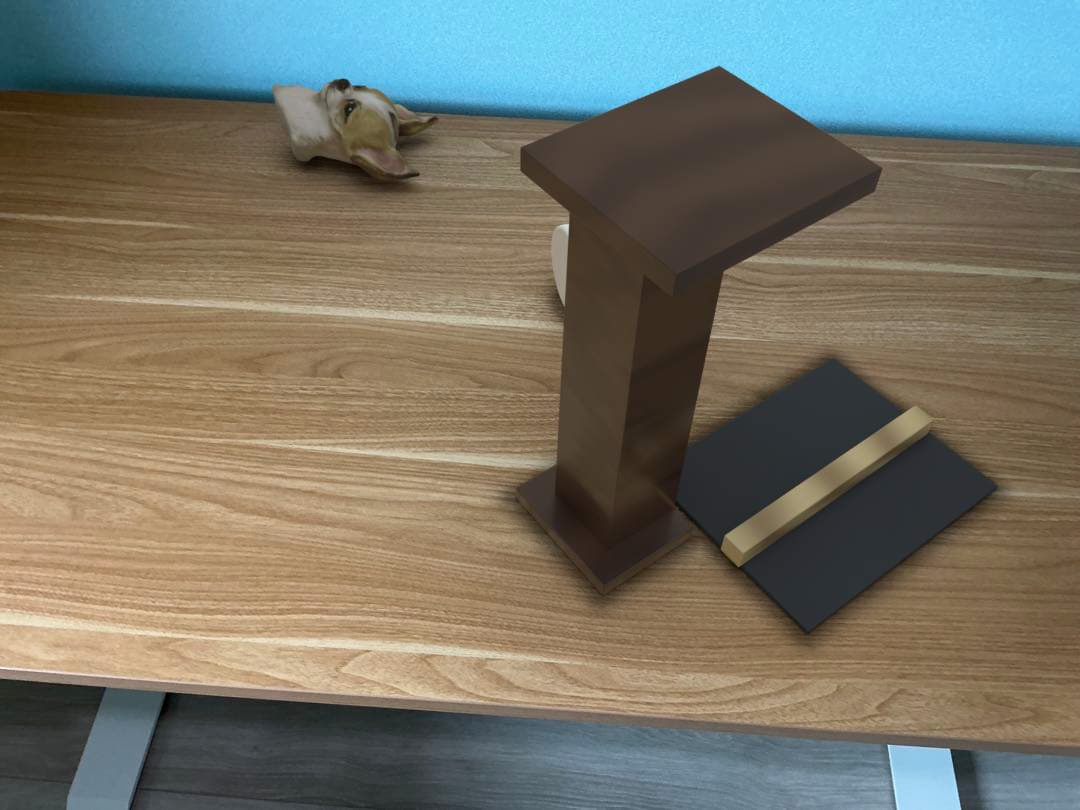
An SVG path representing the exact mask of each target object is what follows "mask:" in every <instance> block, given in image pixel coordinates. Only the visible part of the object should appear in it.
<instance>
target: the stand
mask: <svg viewBox="0 0 1080 810" xmlns="http://www.w3.org/2000/svg"><path fill="white" fill-rule="evenodd" d="M519 151H520V153H519V154H520V155H519V156H520V159H519V160H520V161H519V162H520V163H519V166H520V167H519V171H520V172H521V173H522V175H524V176H525V177H527V178H528V179H529V180H530V181H532V182H533V183H534V185H536V186H538V187H539V188H540V189H541V190H542V191H543V192H545V193H546V194H547V195H548V196H549V197H550V198H551V199H553V200H554V201H555V202H557V203H558V204H559V205H560V206H561V207H563V208H564V209H565V210H566V211H567V212H568V213H569V215H568V217H569V218H568V224H569V233H568V252H567V271H566V290H565V307H564V308H563V309H564V312H563V329H562V330H563V331H562V346H561V347H562V348H561V349H562V350H561V367H560V387H559V405H558V423H557V424H558V426H557V443H556V445H557V446H556V463H555V464H554V465H552V466H551V467H549V468H547V469H545V470H544V471H542V472H540V473H539V474H537V475H535V476H534V477H532V478H530V479H528V480H527V481H525V482H523V483H521V484H520V485H518V486H516V487H515V491H514V492H515V495H514V496H515V499H516V500H517V501H518V502H519V503H520V504H521V506H522V507H523V508H524V509H525V510H526V511H527V512H528V514H529V515H530V516H531V517H532V518H533V519H534V521H536V523H537V524H538V525H539V526H540V527H541V529H543V531H545V533H546V534H547V535H548V536H549V537H550V539H551V540H553V542H554V543H555V544H556V545H557V546H558V547H559V549H560V550H561V551H562V552H563V553H564V554H565V555H566V557H567V558H568V559H569V561H571V562H572V564H574V565H575V567H576V568H577V569H578V570H579V571H580V572H581V574H582V575H583V576H584V577H585V578H586V579H587V580H588V582H590V584H591V585H592V586H593V587H594V588H595V590H596V591H597V592H598V593H599V594H600V595H601V596H602V597H603V596H605V595H606V594H608V593H610V592H611V591H613V590H614V589H616V588H617V587H619V586H620V585H622V584H623V583H625V582H627V581H628V580H629V579H630V578H632V577H634V576H635V575H637V574H638V573H640V572H642V571H643V570H644V569H646V568H647V567H649V566H650V565H652V564H654V563H655V562H656V561H658V560H659V559H660V558H662V557H664V556H665V555H667V554H668V553H670V552H671V551H673V550H674V549H676V548H677V547H679V546H680V545H682V544H683V543H685V542H686V541H688V540H689V539H691V538H692V535H693V531H694V527H693V526H692V525H691V524H690V523H689V522H688V521H687V520H686V519H685V518H684V517H683V516H682V515H681V514H680V513H679V512H678V511H677V510H676V509H675V507H676V504H675V502H676V498H677V493H678V488H679V483H680V478H681V474H682V469H683V464H684V459H685V455H686V450H687V447H688V446H689V440H690V435H691V431H692V425H693V421H694V417H695V416H694V415H695V411H696V406H697V401H698V396H699V392H700V388H701V384H702V383H701V382H702V377H703V372H704V368H705V364H706V359H707V354H708V348H709V344H710V339H711V335H712V330H713V325H714V320H715V315H716V311H717V306H718V302H719V301H718V300H719V296H720V292H721V287H722V282H723V278H724V272H725V271H728V270H729V269H730V268H733V267H734V266H736V265H739V264H741V263H742V262H744V261H746V260H748V259H750V258H752V257H753V256H756V255H757V254H759V253H761V252H763V251H764V250H765V251H766V250H767V249H769V248H772V246H775V245H777V244H779V243H780V242H783V241H784V240H785V239H787V238H789V237H792V236H793V235H795V234H797V233H799V232H802V231H803V230H805V229H807V228H809V227H810V226H812V225H814V224H816V223H818V222H820V221H822V220H824V219H826V218H828V217H830V216H831V215H833V214H835V213H837V212H839V211H841V210H843V209H845V208H846V207H849V206H850V205H852V204H854V203H856V202H858V201H860V200H862V199H863V198H865V197H868V196H869V195H871V194H873V193H874V192H876V190H877V186H878V184H879V181H880V177H881V174H882V171H883V167H882V166H881V165H879V164H878V163H876V162H874V161H873V160H871V159H869V158H868V157H866V156H865V155H863V154H861V153H860V152H859V151H857V150H855V149H853V148H852V147H850V146H849V145H847V144H846V143H844V142H842V140H839V139H837V138H836V137H834V136H833V135H832V134H829V132H826V131H825V130H823V129H822V128H820V127H819V126H817V125H815V124H814V123H812V122H810V121H809V120H808V119H805V118H804V117H802V116H801V115H799V114H798V113H796V112H794V111H793V110H791V109H790V108H788V107H786V106H784V105H783V104H782V103H780V102H778V101H777V100H775V99H774V98H772V97H770V96H769V95H767V94H766V93H764V92H762V91H761V90H759V89H757V88H756V87H755V86H753V85H751V84H750V83H748V82H747V81H745V80H743V79H742V78H740V77H739V76H737V75H736V74H734V73H732V72H731V71H729V70H727V69H726V68H725V67H722V66H721V65H717V66H715V67H713V68H710V69H707V70H705V71H703V72H700V73H698V74H694V75H693V76H690V77H688V78H685V79H683V80H681V81H678V82H676V83H673V84H671V85H668V86H666V87H664V88H661V89H659V90H656V91H653V92H651V93H648V94H646V95H644V96H641V97H639V98H637V99H634V100H632V101H629V102H627V103H624V104H622V105H619V106H617V107H615V108H612V109H610V110H607V111H605V112H602V113H600V114H598V115H595V116H593V117H591V118H588V119H586V120H583V121H580V122H578V123H576V124H573V125H570V126H568V127H566V128H564V129H561V130H559V131H556V132H554V133H551V134H548V135H547V136H544V137H542V138H539V139H537V140H534V141H532V142H530V143H527V144H524V145H522V146H521V147H520V150H519Z"/></svg>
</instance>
